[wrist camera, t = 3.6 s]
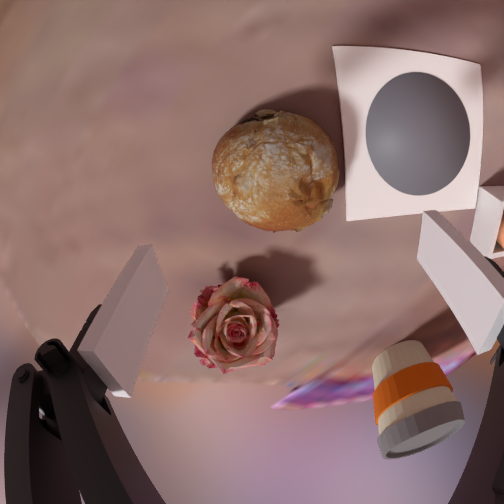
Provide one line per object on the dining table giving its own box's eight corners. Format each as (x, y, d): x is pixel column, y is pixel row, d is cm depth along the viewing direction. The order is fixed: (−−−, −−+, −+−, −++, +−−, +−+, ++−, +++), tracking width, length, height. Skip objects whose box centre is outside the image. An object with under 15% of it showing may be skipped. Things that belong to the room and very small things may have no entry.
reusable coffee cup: (431, 363, 40) (458, 435, 28) (366, 388, 43) (382, 465, 31) (434, 319, 34) (475, 406, 22) (354, 351, 37) (377, 447, 25)
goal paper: (346, 219, 27) (347, 221, 26) (332, 46, 18) (333, 45, 18) (473, 207, 25) (475, 208, 25) (478, 64, 17) (481, 64, 16)
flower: (272, 349, 34) (289, 370, 26) (197, 359, 33) (194, 384, 25) (264, 271, 35) (280, 272, 27) (186, 279, 33) (179, 283, 25)
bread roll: (306, 106, 24) (300, 71, 17) (356, 204, 25) (372, 205, 17) (214, 152, 27) (177, 136, 19) (259, 247, 28) (237, 265, 20)
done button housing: (469, 241, 27) (487, 259, 24) (479, 186, 24) (501, 201, 20) (504, 235, 27) (521, 251, 23) (515, 185, 23) (535, 199, 20)
